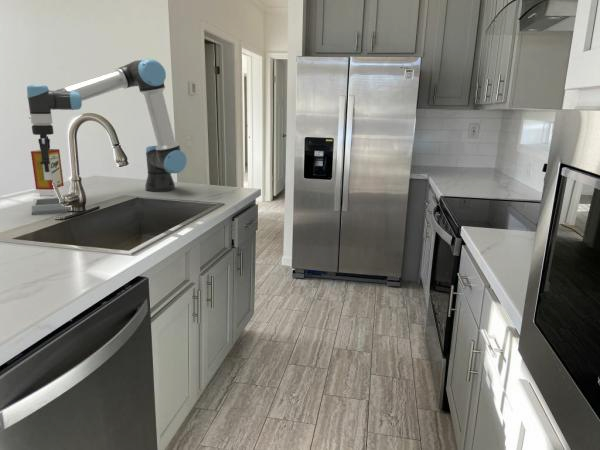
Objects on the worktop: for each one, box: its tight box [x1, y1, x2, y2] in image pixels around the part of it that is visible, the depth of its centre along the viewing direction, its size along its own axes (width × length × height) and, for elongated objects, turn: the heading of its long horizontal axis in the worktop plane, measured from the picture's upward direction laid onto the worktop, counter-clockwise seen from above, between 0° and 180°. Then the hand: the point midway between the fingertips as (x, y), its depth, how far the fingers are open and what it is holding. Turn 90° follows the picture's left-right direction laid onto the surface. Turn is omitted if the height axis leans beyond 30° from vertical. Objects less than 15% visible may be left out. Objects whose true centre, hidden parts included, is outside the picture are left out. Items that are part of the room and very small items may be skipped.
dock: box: [31, 197, 71, 216], centre depth 191 cm, size 15×16×4 cm
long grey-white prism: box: [38, 189, 56, 197], centre depth 217 cm, size 6×6×22 cm
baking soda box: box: [30, 148, 65, 190], centre depth 187 cm, size 10×6×16 cm
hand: (49, 177), depth 188 cm, fingers closed on baking soda box, 11 cm apart
